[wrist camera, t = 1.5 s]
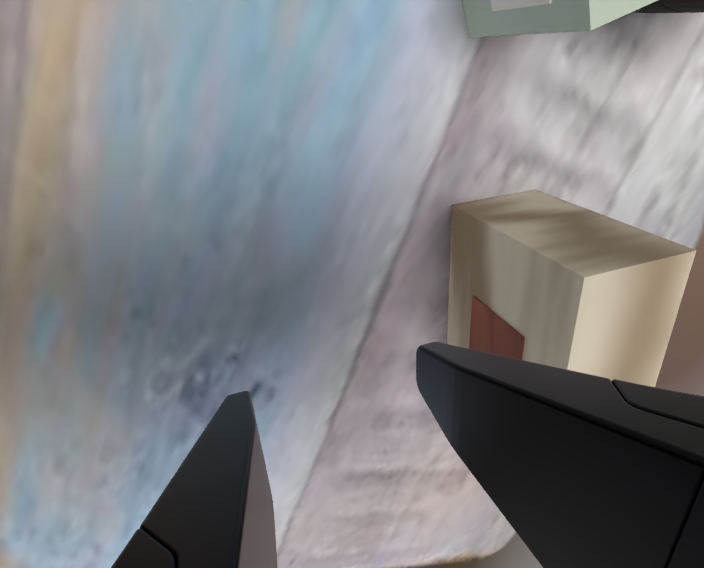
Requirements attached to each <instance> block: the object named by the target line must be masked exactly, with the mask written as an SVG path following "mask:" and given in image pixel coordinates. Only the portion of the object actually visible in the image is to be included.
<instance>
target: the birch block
mask: <svg viewBox="0 0 704 568" xmlns="http://www.w3.org/2000/svg"><path fill="white" fill-rule="evenodd" d="M695 253H696V250H694V249H691V248H688V247H686V246H683V245H681V244H678V243H675V242H673V241H670V240H667V239H665V238H662V237H659V236H657V235H654V234H652V233H649V232H646V231H644V230H641V229H638V228H636V227H633V226H630V225H628V224H625V223H623V222H620V221H617V220H615V219H612V218H609V217H607V216H604V215H601V214H599V213H596V212H593V211H591V210H588V209H586V208H583V207H580V206H578V205H575V204H572V203H570V202H567V201H564V200H562V199H559V198H557V197H554V196H551V195H549V194H546V193H543V192H541V191H538V190H531V191H526V192H520V193H514V194H509V195H503V196H498V197H492V198H486V199H481V200H475V201H469V202H464V203H458V204H453V205H452V217H451V245H450V273H449V300H448V328H447V344H449V345H453V346H458V347H463V348H468V349H472V350H477V351H482V352H486V353H491V354H496V355H501V356H505V357H510V358H515V359H519V360H524V361H529V362H533V363H538V364H543V365H548V366H552V367H557V368H562V369H566V370H571V371H576V372H581V373H585V374H590V375H595V376H599V377H604V378H608V379H610V380H611V381H612V380H613V379H617V380H622V381H626V382H631V383H636V384H641V385H646V386H651V387H655V385H656V381H657V378H658V375H659V372H660V368H661V365H662V362H663V358H664V355H665V352H666V348H667V345H668V341H669V339H670V335H671V332H672V329H673V325H674V322H675V319H676V316H677V312H678V309H679V305H680V302H681V299H682V296H683V293H684V289H685V286H686V282H687V279H688V276H689V273H690V269H691V266H692V263H693V259H694V256H695Z"/></svg>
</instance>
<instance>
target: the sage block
mask: <svg viewBox="0 0 704 568" xmlns="http://www.w3.org/2000/svg"><path fill="white" fill-rule="evenodd" d="M655 1H658V0H462V2H463V7H464V13H465V18H466V24H467V30H468V35H469V37H486V36H504V35H521V34H539V33H556V32H574V31H591V30H593V29H595V28H597V27H600V26H602V25H604V24H606V23H609V22H611V21H613V20H615V19H618V18H620V17H622V16H624V15H626V14H629V13H631V12H633V11H635V10H638V9H640V8H642V7H644V6H646V5H649V4H651V3H653V2H655Z"/></svg>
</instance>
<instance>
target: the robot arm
mask: <svg viewBox="0 0 704 568" xmlns="http://www.w3.org/2000/svg"><path fill="white" fill-rule="evenodd" d="M416 380H417V385H418V388H419V391H420V393H421V395H422V396H423V398H424V400H425V402H426V403H427V405H428V407H429V408H430V410H431V412H432V414H433V415H434V417H435V419H436V421H437V422H438V424H439V426H440V427H441V429H442V431H443V433H444V434H445V436H446V438H447V439H448V441H449V443H450V444H451V446H452V447H453V449H454V450H455V451H456V453H457V454H458V456H459V457H460V458H461V460H462V461H463V462H464V463H465V465H466V466H467V467H468V469H469V470H470V471H471V473H472V474H473V475H474V477H475V478H476V479H477V481H478V482H479V483H480V485H481V486H482V487H483V489H484V490H485V491H486V493H487V494H488V495H489V497H490V498H491V499H492V500H493V502H494V503H495V504H496V506H497V507H498V508H499V510H500V511H501V512H502V514H503V515H504V516H505V518H506V519H507V520H508V522H509V523H510V524H511V526H512V527H513V528H514V530H515V531H516V532H517V534H518V535H519V536H520V538H521V539H522V540H523V541H524V543H525V544H526V545H527V547H528V548H529V549H530V551H531V552H532V553H533V555H534V556H535V557H536V559H537V560H538V561H539V563H540V564H541V565H542V567H543V568H704V396H699V395H694V394H688V393H682V392H677V391H671V390H666V389H661V388H656V387H651V386H646V385H641V384H636V383H631V382H626V381H622V380H617V379H613V380H612V381H611V380H610V379H608V378H604V377H599V376H595V375H590V374H585V373H581V372H576V371H571V370H566V369H562V368H557V367H552V366H548V365H543V364H538V363H533V362H529V361H524V360H519V359H515V358H510V357H505V356H501V355H496V354H491V353H486V352H482V351H477V350H472V349H468V348H463V347H458V346H453V345H449V344H444V343H439V342H432V343H429V344H425V345H421V346H419V347H418V349H417V352H416ZM111 568H277V554H276V539H275V523H274V510H273V501H272V495H271V489H270V485H269V480H268V475H267V470H266V466H265V461H264V456H263V451H262V446H261V442H260V437H259V432H258V428H257V423H256V418H255V414H254V409H253V404H252V400H251V395H250V392H248V391H243V392H239V393H235V394H231V395H228V396H227V397H226V398H225V400H224V401H223V403H222V404H221V406H220V407H219V409H218V410H217V412H216V413H215V415H214V416H213V418H212V419H211V421H210V422H209V424H208V425H207V427H206V428H205V430H204V431H203V433H202V434H201V436H200V437H199V439H198V440H197V442H196V443H195V445H194V446H193V448H192V449H191V451H190V452H189V454H188V455H187V457H186V458H185V460H184V461H183V463H182V464H181V466H180V467H179V469H178V470H177V472H176V473H175V475H174V476H173V478H172V479H171V481H170V482H169V484H168V485H167V487H166V488H165V490H164V491H163V493H162V494H161V496H160V497H159V499H158V500H157V502H156V503H155V505H154V506H153V508H152V509H151V511H150V512H149V514H148V515H147V517H146V518H145V520H144V521H143V523H142V524H141V526H140V529H138V530H137V531H136V532H135V533H134V535H133V536H132V538H131V539H130V541H129V542H128V544H127V545H126V547H125V548H124V550H123V551H122V553H121V554H120V556H119V557H118V558H117V560H116V561H115V563H114V564H113V566H112V567H111Z"/></svg>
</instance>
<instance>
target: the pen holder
mask: <svg viewBox="0 0 704 568" xmlns="http://www.w3.org/2000/svg"><path fill="white" fill-rule="evenodd" d="M634 12H642V13H681V12H691V13H694V12H704V0H658V1H655V2H653V3H651V4H649V5H646V6H644V7H642V8H640V9H638V10H635V11H634Z"/></svg>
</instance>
